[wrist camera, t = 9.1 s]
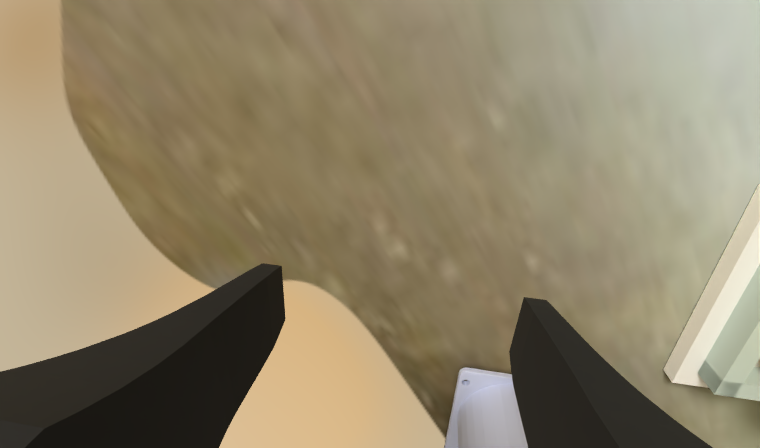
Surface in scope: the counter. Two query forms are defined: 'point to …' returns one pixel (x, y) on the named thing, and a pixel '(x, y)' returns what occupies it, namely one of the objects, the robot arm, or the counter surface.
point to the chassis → (726, 320)
